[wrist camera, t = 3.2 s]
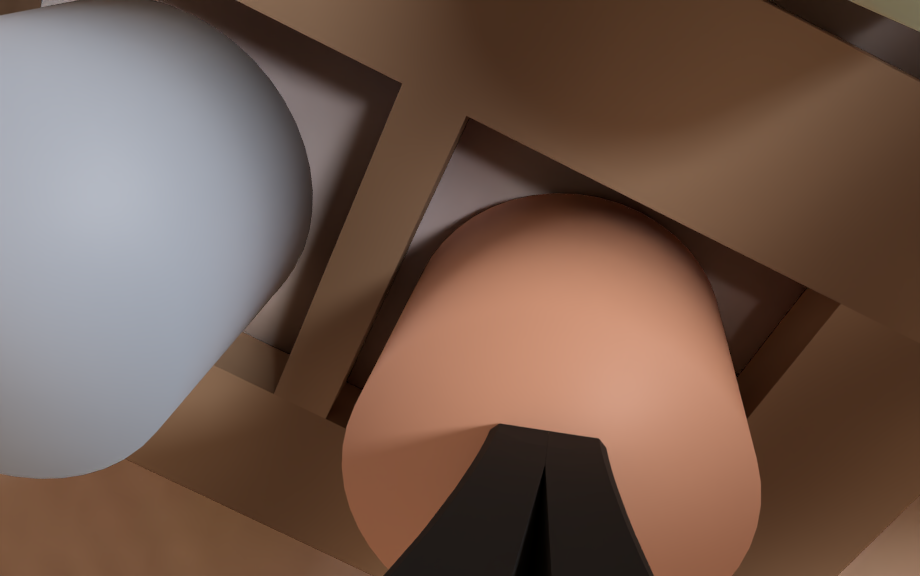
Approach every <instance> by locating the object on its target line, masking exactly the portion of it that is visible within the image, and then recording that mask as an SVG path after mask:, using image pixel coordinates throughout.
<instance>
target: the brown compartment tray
mask: <svg viewBox="0 0 920 576" xmlns="http://www.w3.org/2000/svg"><path fill="white" fill-rule="evenodd" d="M237 1H239V2H241V3H243V4H244V5H246V6H248V7H250V8H252V9H254V10H256V11H258V12H260V13H262V14H264V15H266V16H268V17H270V18H272V19H274V20H276V21H278V22H280V23H282V24H284V25H286V26H288V27H290V28H292V29H294V30H296V31H298V32H300V33H302V34H304V35H306V36H308V37H310V38H312V39H314V40H316V41H318V42H320V43H322V44H324V45H326V46H328V47H330V48H332V49H334V50H336V51H338V52H340V53H342V54H344V55H346V56H348V57H350V58H352V59H354V60H356V61H358V62H360V63H362V64H364V65H366V66H368V67H370V68H372V69H374V70H376V71H378V72H380V73H382V74H384V75H386V76H388V77H390V78H392V79H394V80H396V81H398V82H400V83H402V86H401V88H400V90H399V93H398V95H397V98H396V100H395V102H394V105H393V107H392V110H391V112H390V115H389V117H388V119H387V122H386V124H385V127H384V129H383V131H382V134H381V136H380V139H379V141H378V144H377V146H376V148H375V151H374V153H373V156H372V158H371V160H370V163H369V165H368V168H367V170H366V173H365V175H364V177H363V180H362V182H361V185H360V187H359V189H358V192H357V194H356V197H355V199H354V202H353V204H352V206H351V209H350V211H349V214H348V216H347V218H346V221H345V223H344V226H343V228H342V231H341V233H340V235H339V238H338V240H337V243H336V245H335V247H334V250H333V252H332V255H331V257H330V260H329V262H328V264H327V267H326V269H325V272H324V274H323V276H322V279H321V281H320V284H319V286H318V289H317V291H316V293H315V296H314V298H313V301H312V303H311V305H310V308H309V310H308V313H307V315H306V318H305V320H304V322H303V325H302V327H301V330H300V332H299V334H298V337H297V339H296V342H295V344H294V347H293V349H292V351H291V354H290V355H289V354H287V353H285V352H283V351H280V350H278V349H276V348H274V347H272V346H270V345H268V344H266V343H264V342H262V341H260V340H258V339H256V338H254V337H251V336H249V335H247V334H245V333H243V332H242V333H241V334H240V335H239V336H238V337H237V338H236V340H235V341H234V342H233V343H232V344H231V345H230V347H229V348H228V349H227V350H226V351H225V352H224V354H223V355H222V356H221V357H220V358H219V359H218V361H217V362H216V363H215V364H214V365H213V367H212V368H211V369H210V370H209V371H208V372H207V374H206V375H205V376H204V377H203V378H202V379H201V381H200V382H199V383H198V384H197V385H196V386H195V388H194V389H193V390H192V391H191V392H190V393H189V395H188V396H187V397H186V398H185V399H184V400H183V402H182V403H181V404H180V405H179V406H178V407H177V409H176V410H175V411H174V412H173V413H172V414H171V416H170V417H169V418H168V419H167V420H166V421H165V423H164V424H163V425H162V426H161V427H160V428H159V430H158V431H157V432H156V433H155V434H154V435H153V436H152V437H151V438H150V439H149V440H148V441H147V442H146V443H145V444H144V445H143V446H142V447H141V448H139V449H138V450H137V451H135V452H134V453H132V454H131V455H130V456H128V457H127V458H125V459H127V460H129V461H131V462H133V463H135V464H137V465H139V466H141V467H144V468H146V469H148V470H150V471H152V472H154V473H156V474H158V475H160V476H163V477H165V478H167V479H169V480H171V481H173V482H175V483H177V484H180V485H182V486H184V487H186V488H188V489H190V490H192V491H194V492H197V493H199V494H201V495H203V496H205V497H207V498H209V499H211V500H213V501H216V502H218V503H220V504H222V505H224V506H226V507H228V508H230V509H233V510H235V511H237V512H239V513H241V514H243V515H245V516H247V517H250V518H252V519H254V520H256V521H258V522H260V523H262V524H264V525H267V526H269V527H271V528H273V529H275V530H277V531H279V532H281V533H283V534H286V535H288V536H290V537H292V538H294V539H296V540H298V541H300V542H303V543H305V544H307V545H309V546H311V547H313V548H315V549H317V550H320V551H322V552H324V553H326V554H328V555H330V556H332V557H334V558H336V559H339V560H341V561H343V562H345V563H347V564H349V565H351V566H353V567H356V568H358V569H360V570H362V571H364V572H366V573H368V574H370V575H373V576H383V575H384V574H385V573H386V572H387V571H388V569H387V567H386V566H385V565H384V564H383V563H382V562H381V561H380V559H379V558H378V557H377V556H376V554H375V553H374V552H373V550H372V549H371V548H370V547H369V545H368V543H367V542H366V540H365V538H364V537H363V535H362V533H361V532H360V530H359V528H358V526H357V524H356V522H355V519H354V517H353V515H352V512H351V510H350V507H349V504H348V500H347V496H346V493H345V489H344V482H343V474H342V449H343V442H344V437H345V432H346V427H347V424H348V422H349V419H350V416H351V414H352V411H353V409H354V406H355V404H356V402H357V400H358V398H359V396H360V394H361V392H362V390H361V389H359V388H357V387H355V386H353V385H351V384H349V383H347V382H346V381H347V379H348V376H349V374H350V372H351V370H352V368H353V366H354V364H355V361H356V359H357V357H358V355H359V353H360V351H361V349H362V347H363V344H364V342H365V340H366V338H367V336H368V334H369V332H370V329H371V327H372V325H373V323H374V321H375V319H376V317H377V314H378V312H379V310H380V308H381V306H382V304H383V302H384V299H385V297H386V295H387V293H388V291H389V289H390V287H391V284H392V282H393V280H394V278H395V276H396V274H397V272H398V269H399V267H400V265H401V263H402V261H403V259H404V257H405V255H406V252H407V250H408V248H409V246H410V244H411V242H412V240H413V237H414V235H415V233H416V231H417V229H418V227H419V225H420V222H421V220H422V218H423V216H424V214H425V212H426V210H427V207H428V205H429V203H430V201H431V199H432V197H433V195H434V192H435V190H436V188H437V186H438V184H439V182H440V180H441V177H442V175H443V173H444V171H445V169H446V167H447V165H448V163H449V160H450V158H451V156H452V154H453V152H454V150H455V148H456V145H457V143H458V141H459V139H460V137H461V135H462V133H463V130H464V128H465V126H466V124H467V122H468V120H469V118H472V119H474V120H476V121H478V122H480V123H482V124H484V125H486V126H488V127H490V128H492V129H494V130H496V131H498V132H500V133H502V134H504V135H506V136H508V137H510V138H512V139H514V140H516V141H518V142H519V143H521V144H523V145H525V146H527V147H529V148H531V149H533V150H535V151H537V152H539V153H541V154H543V155H545V156H547V157H549V158H551V159H553V160H555V161H557V162H559V163H561V164H563V165H565V166H567V167H569V168H571V169H573V170H575V171H577V172H579V173H581V174H583V175H585V176H587V177H589V178H591V179H593V180H595V181H597V182H599V183H601V184H603V185H605V186H607V187H609V188H611V189H613V190H615V191H617V192H619V193H621V194H623V195H625V196H627V197H629V198H631V199H633V200H635V201H637V202H639V203H641V204H643V205H645V206H647V207H649V208H651V209H653V210H655V211H657V212H659V213H661V214H663V215H665V216H667V217H669V218H671V219H673V220H675V221H677V222H679V223H681V224H683V225H685V226H687V227H689V228H691V229H693V230H695V231H697V232H699V233H701V234H703V235H705V236H707V237H709V238H711V239H713V240H715V241H717V242H719V243H721V244H723V245H725V246H727V247H729V248H731V249H733V250H735V251H737V252H739V253H741V254H743V255H745V256H747V257H749V258H751V259H753V260H755V261H757V262H759V263H761V264H763V265H765V266H767V267H769V268H771V269H773V270H775V271H777V272H779V273H781V274H783V275H785V276H787V277H789V278H791V279H793V280H795V281H796V282H798V283H800V284H802V285H804V286H806V287H807V289H806V290H805V291H804V293H803V294H802V295H801V296H800V298H799V299H798V300H797V302H796V303H795V304H794V305H793V307H792V308H791V309H790V311H789V312H788V313H787V314H786V316H785V317H784V318H783V320H782V321H781V322H780V323H779V325H778V326H777V327H776V329H775V330H774V331H773V332H772V334H771V335H770V336H769V338H768V339H767V340H766V341H765V343H764V344H763V345H762V347H761V348H760V349H759V350H758V352H757V353H756V354H755V356H754V357H753V358H752V359H751V361H750V362H749V363H748V365H747V366H746V367H745V368H744V370H743V371H742V372H741V374H740V375H739V376H738V377H737V383H738V387H739V391H740V395H741V399H742V403H743V407H744V411H745V415H746V418H747V422H748V426H749V430H750V434H751V438H752V442H753V446H754V450H755V454H756V458H757V463H758V469H759V474H760V480H761V507H760V513H759V519H758V525H757V529H756V531H755V534H754V537H753V540H752V543H751V545H750V548H749V550H748V551H747V553H746V555H745V557H744V559H743V560H742V562H741V564H740V566H739V567H738V569H737V570H736V571H735V572H734V574H733V575H732V576H838V575H839V574H840V573H841V572H842V571H843V570H844V569H845V568H846V567H847V566H848V565H849V564H850V563H851V562H852V561H853V560H854V559H855V558H856V557H857V556H858V555H859V554H860V553H861V552H862V551H863V550H864V549H865V548H866V547H867V546H868V545H869V544H870V543H871V542H872V541H873V540H874V539H875V538H876V537H877V536H878V535H879V534H880V533H881V532H883V531H884V530H885V529H886V528H887V527H888V526H889V525H890V524H891V523H892V522H893V521H894V520H895V519H896V518H897V517H898V516H899V515H900V514H901V513H902V512H903V511H904V510H905V509H906V508H907V507H908V506H909V505H910V504H911V503H912V502H913V501H914V500H915V499H916V498H917V497H918V496H919V495H920V79H918V78H916V77H914V76H912V75H910V74H908V73H906V72H904V71H902V70H900V69H898V68H896V67H895V66H893V65H891V64H889V63H887V62H885V61H883V60H881V59H879V58H877V57H875V56H873V55H871V54H869V53H868V52H866V51H864V50H862V49H860V48H858V47H856V46H854V45H852V44H850V43H848V42H846V41H844V40H842V39H840V38H839V37H837V36H835V35H833V34H831V33H829V32H827V31H825V30H823V29H821V28H819V27H817V26H815V25H813V24H812V23H810V22H808V21H806V20H804V19H802V18H800V17H798V16H796V15H794V14H792V13H790V12H788V11H786V10H785V9H783V8H781V7H779V6H777V5H775V4H773V3H771V2H769V1H767V0H237ZM40 6H41V0H0V15H5V14H10V13H15V12H20V11H25V10H30V9H36V8H40Z"/></svg>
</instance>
